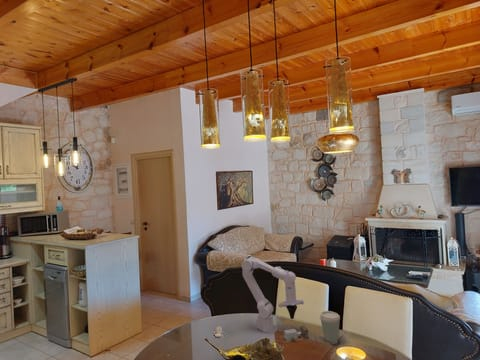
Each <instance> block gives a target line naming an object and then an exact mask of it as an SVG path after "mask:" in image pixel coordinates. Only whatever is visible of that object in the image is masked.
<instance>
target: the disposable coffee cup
mask: <svg viewBox="0 0 480 360" xmlns="http://www.w3.org/2000/svg"><path fill="white" fill-rule="evenodd" d="M319 319H320V322H321V323H320V324H321V327H322V331H323V336H324V340H325V341H326V342H328V343H329V344H330V345H336V344H338V342H339V335H340V334H339V332H340V320H341V315H339V314H338V313H337V312H334V311H331V310H323V311H322V312H321V313H320V316H319Z"/></svg>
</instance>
